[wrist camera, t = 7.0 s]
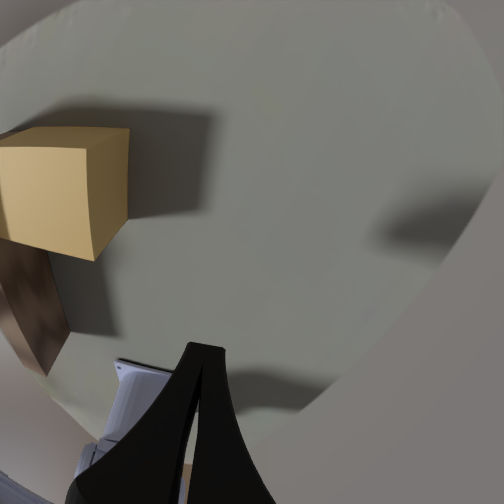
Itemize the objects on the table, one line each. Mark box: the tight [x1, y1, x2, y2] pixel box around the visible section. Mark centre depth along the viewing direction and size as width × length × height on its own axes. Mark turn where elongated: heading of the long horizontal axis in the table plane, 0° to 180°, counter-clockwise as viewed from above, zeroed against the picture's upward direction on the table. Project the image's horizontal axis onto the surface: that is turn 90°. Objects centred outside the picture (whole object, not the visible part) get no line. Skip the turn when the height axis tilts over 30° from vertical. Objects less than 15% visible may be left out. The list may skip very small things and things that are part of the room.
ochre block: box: [0, 126, 130, 261], centre depth 14 cm, size 6×8×5 cm
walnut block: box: [0, 131, 70, 377], centre depth 17 cm, size 20×3×6 cm, turn 169°
